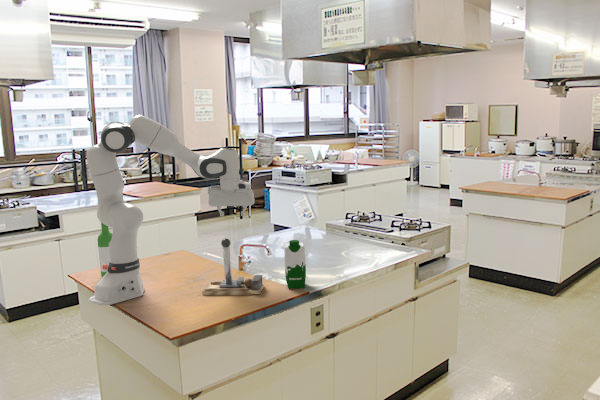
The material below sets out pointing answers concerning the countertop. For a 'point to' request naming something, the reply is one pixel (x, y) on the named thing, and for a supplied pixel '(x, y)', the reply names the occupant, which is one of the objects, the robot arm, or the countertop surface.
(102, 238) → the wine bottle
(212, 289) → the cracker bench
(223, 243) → the ball-top joystick lever
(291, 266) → the milk carton
